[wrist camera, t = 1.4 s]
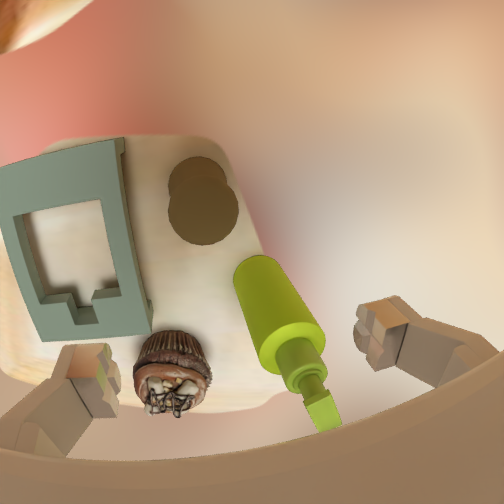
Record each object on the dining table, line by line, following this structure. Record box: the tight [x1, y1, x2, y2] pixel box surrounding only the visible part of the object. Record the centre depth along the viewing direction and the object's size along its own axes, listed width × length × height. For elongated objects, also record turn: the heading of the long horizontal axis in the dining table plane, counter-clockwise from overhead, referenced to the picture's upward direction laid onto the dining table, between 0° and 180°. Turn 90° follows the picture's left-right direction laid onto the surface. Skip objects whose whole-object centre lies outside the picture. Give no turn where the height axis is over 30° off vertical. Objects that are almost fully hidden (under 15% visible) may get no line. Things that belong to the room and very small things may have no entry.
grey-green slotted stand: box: [0, 137, 153, 342], centre depth 28 cm, size 20×14×4 cm
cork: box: [168, 157, 239, 245], centre depth 26 cm, size 6×6×11 cm
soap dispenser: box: [233, 255, 342, 433], centre depth 28 cm, size 6×7×20 cm
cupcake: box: [133, 331, 212, 418], centre depth 34 cm, size 10×10×10 cm
